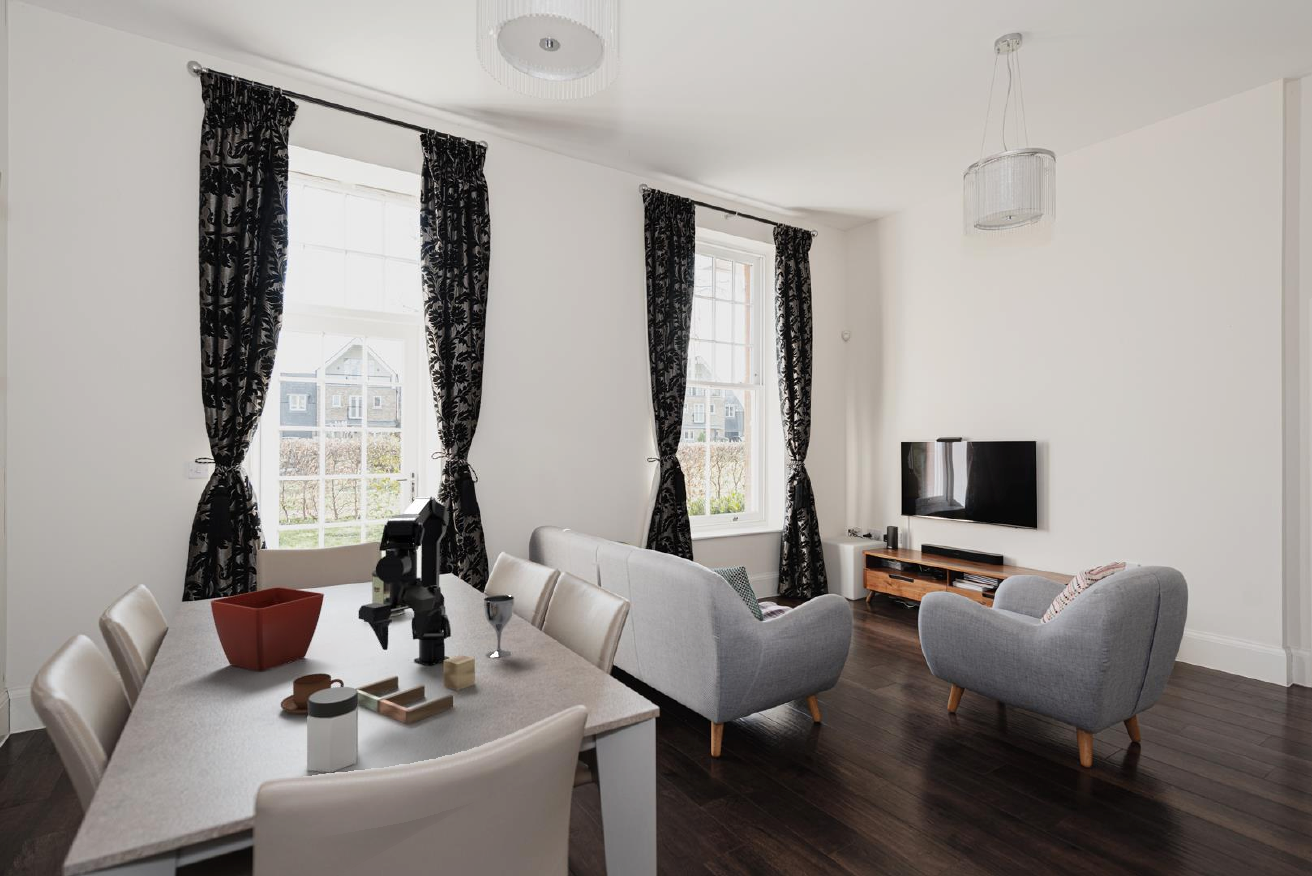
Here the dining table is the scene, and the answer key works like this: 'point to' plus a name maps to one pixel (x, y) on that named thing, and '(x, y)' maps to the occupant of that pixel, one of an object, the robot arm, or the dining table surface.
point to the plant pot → (267, 626)
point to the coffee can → (381, 592)
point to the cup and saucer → (306, 691)
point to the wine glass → (498, 619)
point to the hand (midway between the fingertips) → (403, 644)
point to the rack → (400, 701)
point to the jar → (332, 729)
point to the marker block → (459, 672)
